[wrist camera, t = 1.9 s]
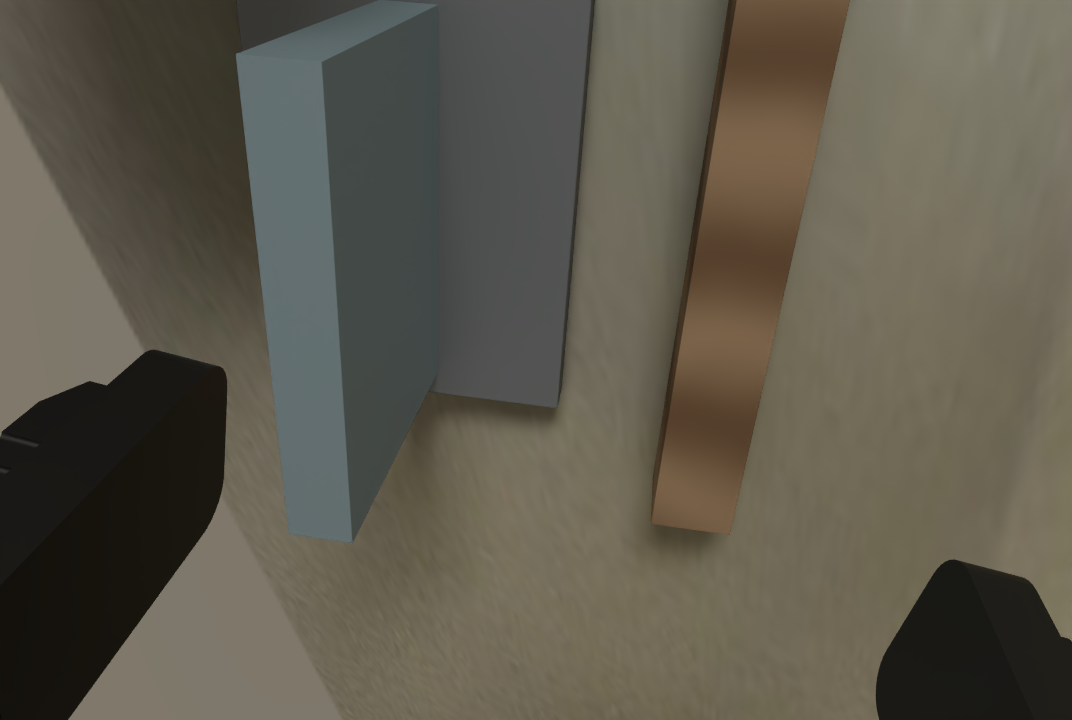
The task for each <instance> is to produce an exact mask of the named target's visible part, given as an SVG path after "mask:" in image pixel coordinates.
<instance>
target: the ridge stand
mask: <svg viewBox="0 0 1072 720" xmlns="http://www.w3.org/2000/svg"><path fill="white" fill-rule="evenodd" d="M236 1H237V10H238V20H239V29H240V38H241V48H242V52H240V53H237V54H236V62H237V71H238V80H239V89H240V98H241V107H242V116H243V125H244V134H245V143H246V152H247V161H248V170H249V179H250V188H251V197H252V206H253V215H254V224H255V233H256V242H257V251H258V260H259V269H260V278H261V287H262V296H263V305H264V314H265V323H266V332H267V341H268V350H269V359H270V368H271V377H272V386H273V395H274V404H275V413H276V422H277V431H278V440H279V449H280V458H281V467H282V476H283V485H284V494H285V503H286V512H287V521H288V530H289V534H293V535H299V536H306V537H313V538H319V539H326V540H333V541H340V542H346V543H353V541H354V539H355V537H356V535H357V533H358V531H359V529H360V527H361V525H362V523H363V521H364V519H365V517H366V515H367V513H368V511H369V509H370V507H371V505H372V503H373V501H374V499H375V497H376V495H377V493H378V491H379V489H380V487H381V485H382V483H383V481H384V479H385V477H386V475H387V473H388V471H389V469H390V467H391V465H392V463H393V461H394V459H395V457H396V455H397V453H398V451H399V449H400V447H401V445H402V443H403V441H404V439H405V437H406V435H407V433H408V431H409V429H410V427H411V425H412V423H413V421H414V419H415V417H416V415H417V413H418V411H419V409H420V407H421V405H422V403H423V401H424V399H425V397H426V395H427V393H428V392H436V393H444V394H451V395H459V396H467V397H474V398H482V399H490V400H498V401H505V402H513V403H521V404H528V405H536V406H544V407H552V408H557V406H558V402H559V398H560V393H561V389H562V377H563V366H564V354H565V342H566V331H567V319H568V307H569V296H570V284H571V272H572V261H573V249H574V237H575V226H576V214H577V202H578V191H579V179H580V167H581V156H582V144H583V132H584V121H585V109H586V97H587V86H588V74H589V62H590V51H591V39H592V27H593V16H594V4H595V0H236Z"/></svg>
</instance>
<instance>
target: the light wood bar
mask: <svg viewBox="0 0 1072 720" xmlns="http://www.w3.org/2000/svg"><path fill="white" fill-rule="evenodd" d="M849 2H850V0H729V3H728V9H727V15H726V22H725V28H724V34H723V41H722V47H721V53H720V59H719V66H718V72H717V78H716V85H715V91H714V97H713V103H712V110H711V116H710V122H709V128H708V135H707V141H706V147H705V154H704V160H703V166H702V172H701V179H700V185H699V191H698V197H697V204H696V210H695V216H694V223H693V229H692V235H691V241H690V248H689V254H688V260H687V266H686V273H685V279H684V285H683V292H682V298H681V304H680V310H679V317H678V323H677V329H676V335H675V342H674V348H673V354H672V361H671V367H670V373H669V379H668V386H667V392H666V398H665V404H664V411H663V417H662V423H661V430H660V436H659V442H658V448H657V455H656V461H655V467H654V474H653V487H652V513H651V524H655V525H662V526H669V527H677V528H684V529H691V530H698V531H705V532H712V533H719V534H727V535H730V532H731V527H732V523H733V518H734V514H735V509H736V505H737V501H738V496H739V492H740V487H741V483H742V478H743V474H744V469H745V465H746V460H747V456H748V452H749V447H750V443H751V438H752V434H753V429H754V425H755V420H756V416H757V412H758V407H759V403H760V398H761V394H762V389H763V385H764V380H765V376H766V372H767V367H768V363H769V358H770V354H771V349H772V345H773V340H774V336H775V331H776V327H777V323H778V318H779V314H780V309H781V305H782V300H783V296H784V291H785V287H786V283H787V278H788V274H789V269H790V265H791V260H792V256H793V251H794V247H795V243H796V238H797V234H798V229H799V225H800V220H801V216H802V211H803V207H804V202H805V198H806V194H807V189H808V185H809V180H810V176H811V171H812V167H813V162H814V158H815V154H816V149H817V145H818V140H819V136H820V131H821V127H822V122H823V118H824V114H825V109H826V105H827V100H828V96H829V91H830V87H831V82H832V78H833V74H834V69H835V65H836V60H837V56H838V51H839V47H840V42H841V38H842V33H843V29H844V25H845V20H846V16H847V11H848V7H849Z"/></svg>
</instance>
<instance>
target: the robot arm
mask: <svg viewBox="0 0 1072 720" xmlns="http://www.w3.org/2000/svg"><path fill="white" fill-rule="evenodd" d="M226 407H227V377H226V374H225V371H224V370H223V368H221V367H219V366H216V365H212V364H208V363H204V362H200V361H196V360H192V359H189V358H185V357H181V356H177V355H173V354H169V353H166V352H162V351H158V350H150V351H147V352H145V353H144V354H143V355H141V356H140V357H139V358H138V359H137V360H136V361H134V362H133V363H132V364H131V365H130V366H129V367H128V368H127V369H125V370H124V371H123V372H122V373H121V374H120V375H118V376H117V377H116V378H115V379H114V380H113V381H112V382H110V383H109V384H108V385H107V386H106V385H103V384H99V383H94V382H91V381H89V382H86V383H84V384H81V385H79V386H76V387H74V388H72V389H69V390H66V391H64V392H62V393H59V394H57V395H54V396H52V397H49V398H47V399H44V400H42V401H39V402H38V403H37V404H36V405H34V406H33V407H32V408H31V409H29V410H28V411H27V412H26V413H25V414H23V415H22V416H21V417H19V418H18V419H17V420H16V421H15V422H13V423H12V424H11V425H10V426H8V427H7V428H6V429H5V430H3V431H2V434H1V437H0V720H68V719H69V717H70V716H71V715H72V713H73V712H74V711H75V709H76V708H77V707H78V705H79V704H80V703H81V701H82V700H83V698H84V697H85V696H86V694H87V693H88V692H89V690H90V689H91V687H92V686H93V684H94V683H95V682H96V681H97V679H98V678H99V676H100V675H101V674H102V672H103V671H104V669H105V668H106V667H107V665H108V664H109V663H110V661H111V660H112V659H113V657H114V656H115V654H116V653H117V652H118V650H119V649H120V648H121V646H122V645H123V643H124V642H125V641H126V639H127V638H128V637H129V635H130V634H131V633H132V631H133V630H134V628H135V627H136V626H137V624H138V623H139V622H140V620H141V619H142V617H143V616H144V615H145V613H146V612H147V610H148V609H149V608H150V606H151V605H152V604H153V602H154V601H155V600H156V598H157V597H158V595H159V594H160V593H161V591H162V590H163V589H164V587H165V586H166V584H167V583H168V582H169V580H170V579H171V578H172V576H173V575H174V573H175V572H176V571H177V569H178V568H179V567H180V565H181V564H182V562H183V561H184V560H185V558H186V557H187V556H188V554H189V553H190V552H191V550H192V549H193V547H194V546H195V545H196V543H197V542H198V540H199V539H200V538H201V536H202V535H203V533H204V532H205V531H206V529H207V527H208V525H209V524H210V522H211V520H212V518H213V515H214V513H215V510H216V508H217V505H218V502H219V499H220V495H221V491H222V487H223V480H224V461H225V434H226ZM876 705H877V712H878V716H879V720H1072V641H1071V640H1070V639H1068V638H1064V637H1061V636H1060V634H1059V632H1058V630H1057V628H1056V627H1055V625H1054V623H1053V621H1052V619H1051V617H1050V615H1049V613H1048V611H1047V609H1046V608H1045V606H1044V604H1043V602H1042V600H1041V598H1040V596H1039V594H1038V592H1037V591H1036V589H1035V587H1034V586H1033V585H1032V584H1031V583H1030V582H1029V581H1028V580H1027V579H1025V578H1023V577H1019V576H1015V575H1012V574H1008V573H1004V572H1000V571H996V570H992V569H989V568H985V567H981V566H977V565H973V564H969V563H965V562H962V561H958V560H949V561H946V562H944V563H943V564H942V565H940V567H939V568H938V569H937V570H936V571H935V573H934V574H933V576H932V577H931V579H930V581H929V582H928V584H927V585H926V587H925V589H924V590H923V592H922V594H921V595H920V597H919V598H918V600H917V602H916V603H915V605H914V607H913V608H912V610H911V612H910V613H909V615H908V616H907V618H906V620H905V621H904V623H903V625H902V626H901V628H900V629H899V631H898V633H897V634H896V636H895V638H894V639H893V641H892V642H891V644H890V646H889V647H888V649H887V651H886V653H885V654H884V656H883V659H882V661H881V664H880V668H879V672H878V676H877V684H876Z"/></svg>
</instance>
